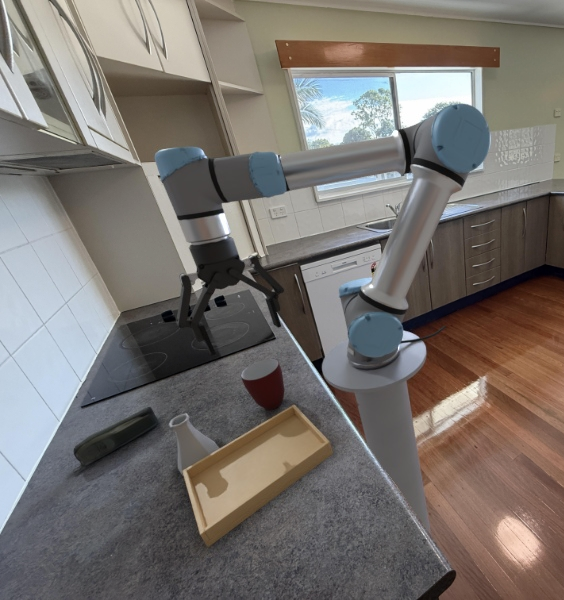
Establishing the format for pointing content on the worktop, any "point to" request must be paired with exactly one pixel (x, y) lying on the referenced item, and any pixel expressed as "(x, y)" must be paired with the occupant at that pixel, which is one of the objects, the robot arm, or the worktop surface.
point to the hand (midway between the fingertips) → (246, 338)
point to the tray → (252, 471)
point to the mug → (264, 383)
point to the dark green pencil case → (114, 437)
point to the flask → (190, 442)
